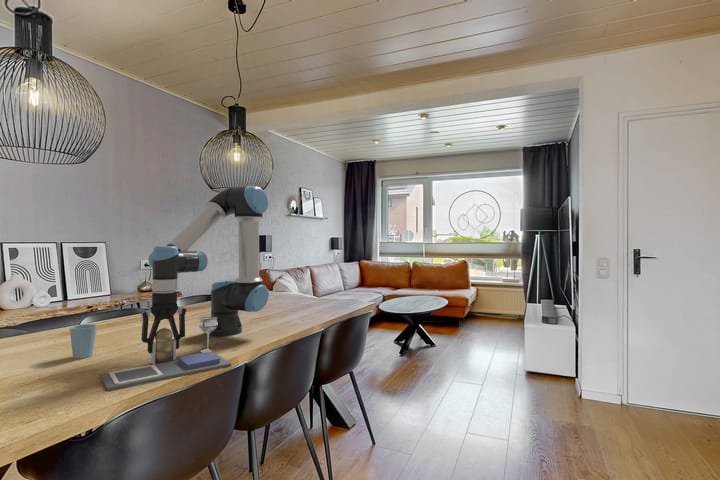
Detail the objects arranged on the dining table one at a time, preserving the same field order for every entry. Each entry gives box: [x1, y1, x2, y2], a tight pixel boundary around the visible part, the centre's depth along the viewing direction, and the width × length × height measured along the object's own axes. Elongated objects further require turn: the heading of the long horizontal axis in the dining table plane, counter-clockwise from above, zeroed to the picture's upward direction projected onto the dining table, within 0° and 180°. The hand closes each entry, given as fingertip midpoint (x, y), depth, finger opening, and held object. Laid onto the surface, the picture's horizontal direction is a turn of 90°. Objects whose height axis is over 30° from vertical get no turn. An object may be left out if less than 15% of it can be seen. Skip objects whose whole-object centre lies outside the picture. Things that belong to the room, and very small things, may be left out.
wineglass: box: [198, 316, 218, 353], centre depth 140 cm, size 7×7×12 cm
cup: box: [69, 323, 98, 360], centre depth 131 cm, size 8×8×10 cm
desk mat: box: [99, 352, 232, 392], centre depth 118 cm, size 34×14×2 cm, turn 131°
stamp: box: [154, 327, 174, 364], centre depth 127 cm, size 6×6×11 cm
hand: (163, 360), depth 127 cm, fingers closed on stamp, 6 cm apart
